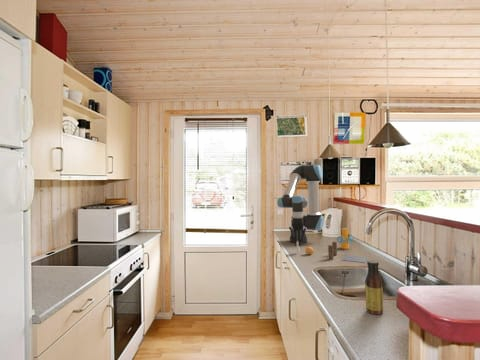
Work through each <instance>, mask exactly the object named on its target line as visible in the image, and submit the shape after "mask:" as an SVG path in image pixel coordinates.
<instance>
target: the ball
mask: <svg viewBox="0 0 480 360" xmlns="http://www.w3.org/2000/svg"><path fill="white" fill-rule="evenodd" d="M313 253H314V248H313V247H312V246H307V247H306V248H305V254H307V255H311V256H312V254H313Z"/></svg>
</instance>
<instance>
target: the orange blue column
mask: <svg viewBox="0 0 480 360" xmlns="http://www.w3.org/2000/svg"><path fill="white" fill-rule="evenodd" d="M348 230H349V229H348V228H347V227H343V228H341V235H340V236H338V237H337V238H336V242H337V243H340V248H341V249H342V250H348V249H349V250H350V244H352V243H353V241H354V239H353V237H352V236H349V237H348V235H349V233H348Z"/></svg>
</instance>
